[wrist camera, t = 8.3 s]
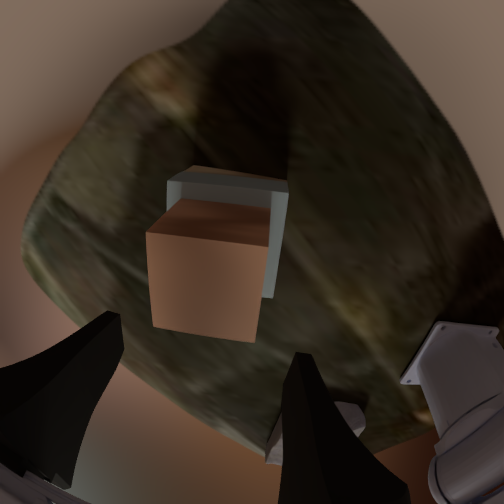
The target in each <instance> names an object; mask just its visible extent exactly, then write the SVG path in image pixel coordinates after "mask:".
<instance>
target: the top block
mask: <svg viewBox="0 0 504 504" xmlns="http://www.w3.org/2000/svg"><path fill="white" fill-rule="evenodd" d="M288 196H289V191H288V184H287V182H283V181H275V180H267V179H258V178H250V177H240V176H231V175H220V174H209V173H197V172H184V171H182V172H180V173H178V174H177V175H175V176H174V177H172V178H171V179H169V180H168V181H167V211H168V210H169V209H170V208H171V207H172V206H173V205H174V204H175V203H176V202H177V201H178V200H179V199H181V198H183V199H193V200H203V201H212V202H222V203H231V204H239V205H248V206H256V207H264V208H271V216H270V232H269V247H268V255H267V262H266V269H265V276H264V283H263V290H262V296H261V297H266V298H273V294H274V288H275V281H276V275H277V269H278V263H279V256H280V250H281V243H282V237H283V230H284V223H285V217H286V210H287V203H288Z"/></svg>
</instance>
